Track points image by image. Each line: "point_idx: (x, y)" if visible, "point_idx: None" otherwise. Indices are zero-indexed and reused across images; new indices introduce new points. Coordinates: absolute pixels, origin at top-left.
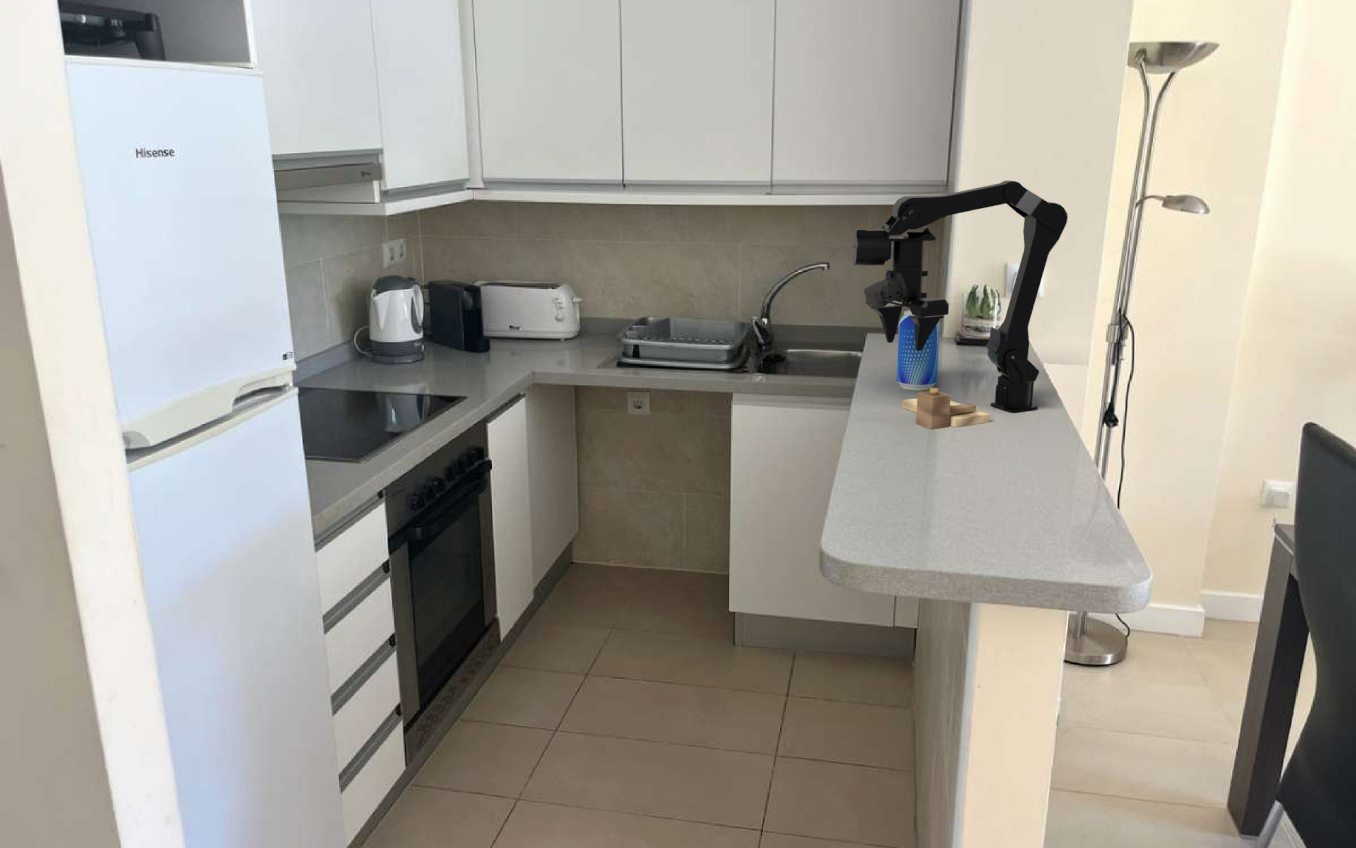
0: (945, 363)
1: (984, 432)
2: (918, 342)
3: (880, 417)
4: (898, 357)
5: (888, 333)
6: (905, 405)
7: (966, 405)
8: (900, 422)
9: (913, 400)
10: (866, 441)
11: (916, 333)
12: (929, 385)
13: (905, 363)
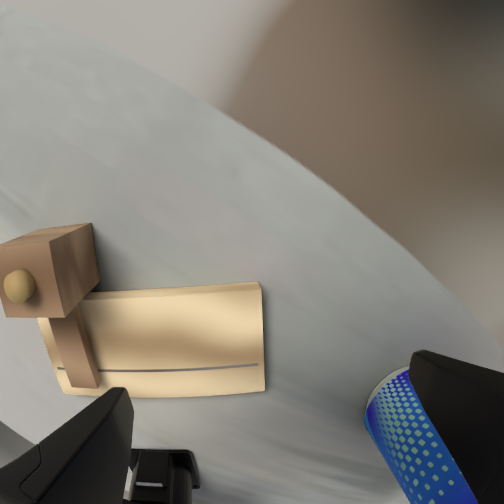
0: None
1: (7, 324)
2: (78, 417)
3: (188, 163)
4: None
5: (445, 378)
6: (244, 286)
7: (80, 373)
8: (118, 190)
9: (243, 315)
10: (31, 43)
11: (50, 451)
12: (365, 414)
13: None
